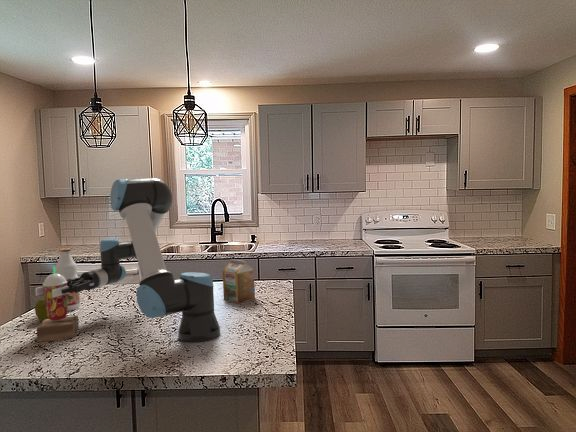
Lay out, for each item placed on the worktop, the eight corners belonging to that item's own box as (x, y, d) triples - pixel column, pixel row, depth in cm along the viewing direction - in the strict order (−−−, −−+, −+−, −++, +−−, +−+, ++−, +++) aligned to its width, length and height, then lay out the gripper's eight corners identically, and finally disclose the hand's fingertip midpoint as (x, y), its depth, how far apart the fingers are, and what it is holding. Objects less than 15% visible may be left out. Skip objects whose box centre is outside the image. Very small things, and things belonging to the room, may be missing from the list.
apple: (43, 325, 183) (41, 299, 182) (30, 322, 188) (28, 296, 187) (66, 318, 191) (64, 293, 190) (54, 315, 196) (52, 291, 195)
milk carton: (255, 298, 214) (253, 259, 212) (238, 303, 206) (236, 262, 205) (240, 295, 221) (239, 257, 219) (223, 299, 213) (222, 260, 212)
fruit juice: (84, 306, 209) (80, 247, 207) (66, 312, 201) (61, 250, 199) (71, 304, 214) (67, 246, 211) (53, 310, 205) (48, 249, 203)
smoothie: (51, 315, 174) (47, 264, 172) (73, 314, 175) (69, 263, 173) (41, 322, 166) (37, 269, 164) (64, 321, 166) (60, 268, 165)
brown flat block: (73, 337, 167) (72, 324, 166) (37, 342, 163) (36, 328, 163) (78, 327, 178) (77, 315, 178) (45, 331, 175) (44, 318, 174)
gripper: (113, 290, 182) (65, 305, 161) (75, 286, 190) (25, 300, 169) (111, 271, 181) (64, 284, 160) (74, 269, 190) (24, 281, 169)
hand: (44, 292), depth 165 cm, fingers closed on smoothie, 8 cm apart
